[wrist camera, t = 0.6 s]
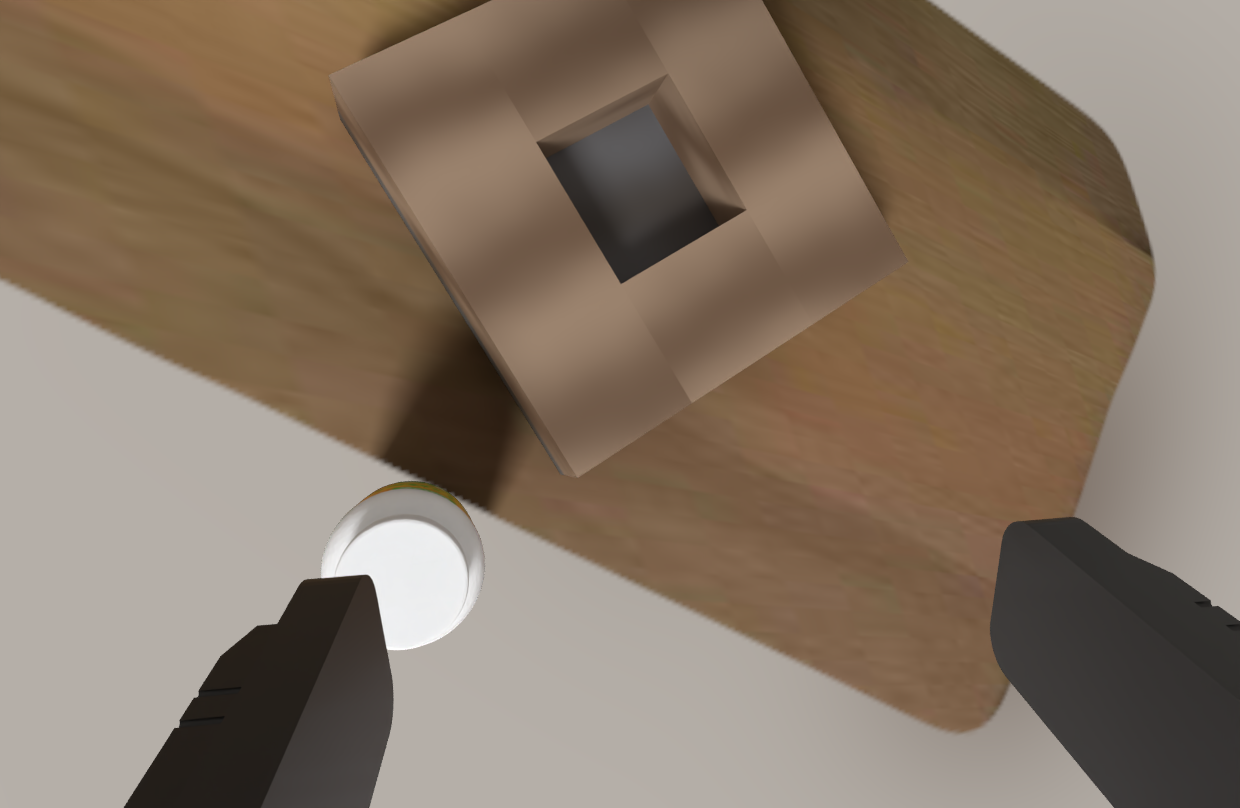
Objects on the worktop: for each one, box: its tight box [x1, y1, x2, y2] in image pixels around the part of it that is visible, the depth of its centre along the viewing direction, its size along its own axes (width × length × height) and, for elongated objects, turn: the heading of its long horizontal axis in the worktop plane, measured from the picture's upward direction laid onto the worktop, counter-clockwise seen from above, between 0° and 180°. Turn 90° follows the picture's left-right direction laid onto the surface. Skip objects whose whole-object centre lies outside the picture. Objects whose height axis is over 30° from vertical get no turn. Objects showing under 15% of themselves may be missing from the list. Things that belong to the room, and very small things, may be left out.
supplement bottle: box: [321, 481, 485, 650], centre depth 28 cm, size 5×5×10 cm
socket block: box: [329, 0, 908, 478], centre depth 33 cm, size 18×18×4 cm
